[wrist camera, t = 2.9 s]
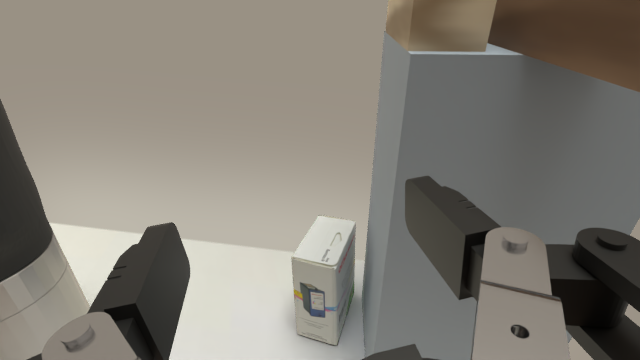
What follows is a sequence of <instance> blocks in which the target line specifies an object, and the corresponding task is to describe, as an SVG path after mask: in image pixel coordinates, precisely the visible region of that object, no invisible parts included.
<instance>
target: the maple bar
mask: <svg viewBox="0 0 640 360" xmlns="http://www.w3.org/2000/svg"><path fill="white" fill-rule="evenodd" d="M496 2H497V0H388V11H387V22H386V33H387V34H388V35H390V36H391V37H392V38H393V39H394V40H395V41H396V42H398V43H399V44H400V45H401V46H402V47H403V48H404V49H406V50H407V51H448V52H485V51H486V46H487V42H488V37H489V33H490V28H491V24H492V20H493V15H494V11H495V6H496Z"/></svg>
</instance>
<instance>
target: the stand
mask: <svg viewBox="0 0 640 360" xmlns="http://www.w3.org/2000/svg"><path fill="white" fill-rule="evenodd" d="M380 78H381V79H380V89H379V102H378V113H377V126H376V137H375V149H374V160H373V173H372V184H371V196H370V209H369V220H368V232H367V244H366V255H365V267H364V279H363V291H362V308H363V326H364V345H365V358H366V357H368V356H370V355H372V354H374V353H378V352H382V351H386V350H390V349H394V348H399V347H403V346H407V345H411V344H415V345H416V347H417V349H418V351H419V353H420V355H421V357H422V358H432V359H439V360H470V355H471V347H472V339H473V330H474V322H475V314H476V306H477V301H476V300H475V298H474V297H470V298H466V299H462V300H458V298H457V297H456V296H455V294H454V293H453V291H452V290H451V289H450V287H449V286H448V285H447V283H446V282H445V281H444V279H443V278H442V277H441V275H440V274H439V272H438V271H437V270H436V268H435V267H434V266H433V264H432V263H431V262H430V260H429V259H428V258H427V256H426V255H425V253H424V252H423V251H422V249H421V248H420V247H419V245H418V244H417V243H416V241H415V240H414V239H413V237H412V236H411V234H410V233H409V231H408V229H407V226H406V221H405V183H406V180H407V179H411V178H416V177H422V176H430V177H431V178H432V179H433V180H435V181H436V182H437V183H438V184H439V185H440V186H441V187H443V186H446V187H449V188H451V189H454V190H456V191H459V192H460V193H461V194H462V195H464V196H465V197H466V198H467V199H468V201H471V202H472V203H473V204H474V205H476V208H477V207H478V208H479V209H481V210H482V211H483V212H484V213H485V214H487V215H488V216H489V217H490V218H491V219H493V220H494V221H495V222H496V223H497V224H499V225H500V226H501V227H512V228H518V229H522V230H526V231H528V232H531V233H533V234H534V235H536V236H538V237H539V238H540V239H541V240H542V241H543V242H544V244H568V245H574V244H575V240H576V237H577V234H578V232H579V231H581V230H583V229H587V228H606V229H611V230H616V231H619V232H622V233H625V234H627V235H630V234H631V232H632V230H633V228H634V227H635V225H636V223H637V221H638V220H639V218H640V92H637V91H634V90H631V89H628V88H625V87H622V86H618V85H615V84H612V83H609V82H606V81H603V80H600V79H597V78H594V77H591V76H588V75H584V74H581V73H578V72H575V71H572V70H569V69H566V68H563V67H560V66H557V65H554V64H550V63H547V62H544V61H541V60H538V59H535V58H532V57H529V56H526V55H523V54H520V53H516V52H513V51H510V50H507V49H504V48H501V47H498V46H495V45H492V44H489V43H487V46H486V51H485V52H448V51H407V50H406V49H404V48H403V47H402V46H401V45H400V44H399V43H398V42H396V41H395V40H394V39H393V38H392V37H391V36H390V35H388V34H387V33H386V31H384V43H383V54H382V66H381V77H380ZM566 334H567V340H568V343H569V342H570V340H571V338H572V336H571V335H570V334H569V333H568V332H567V331H566Z"/></svg>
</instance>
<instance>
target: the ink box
mask: <svg viewBox="0 0 640 360" xmlns="http://www.w3.org/2000/svg"><path fill="white" fill-rule="evenodd" d="M355 229H356V222H355V221H352V220H347V219H341V218H336V217H330V216H324V215H318V217H317V219H316V220H315V222H314V223H313V225H312V227H311V228H310V229H309V231H308V232H307V234H306V236H305V237H304V239H303V240H302V242H301V243H300V245H299V246H298V248H297V250H296V251H295V253H294V254H293V256H292V257H291V259H292V273H293V286H294V300H295V313H296V324H297V334H300V335H302V336H305V337H309V338H312V339H315V340H319V341H322V342H325V343H328V344H332V345H337V344H338V340H339V337H340V334H341V331H342V327H343V324H344V321H345V318H346V315H347V311H348V308H349V305H350V302H351V299H352V296H353V293H354V266H355Z"/></svg>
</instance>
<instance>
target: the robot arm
mask: <svg viewBox="0 0 640 360" xmlns="http://www.w3.org/2000/svg"><path fill="white" fill-rule="evenodd" d="M405 221H406V226H407V229H408V231H409V233H410V234H411V236H412V237H413V239H414V240H415V241H416V243H417V244H418V245H419V247H420V248H421V249H422V251H423V252H424V253H425V255H426V256H427V258H428V259H429V260H430V262H431V263H432V264H433V266H434V267H435V268H436V270H437V271H438V272H439V274H440V275H441V277H442V278H443V279H444V281H445V282H446V283H447V285H448V286H449V287H450V289H451V290H452V291H453V293H454V294H455V296H456V297H457V298H458V300H462V299H466V298H470V297H474V298H475V300H476V301H477V306H476V314H475V322H474V330H473V339H472V347H471V355H470V360H570V353H569V347H568V340H567V334H566V331H567V332H568V333H569V334H570V335H571V336H572V337H573V338H574V339H575V340H576V341H577V342H578V343H579V344H580V346H582V348H583V349H584V350H585V351H586V352H587V353H588V354H589V355H590V356H591V357H592V358H593V359H594V360H640V327H639V326H637V325H636V324H635V323H634V322H633V321H632V320H630V319H629V318H628V317H627V316H626V315H625V311H626V309H627V306H628V304H630V305H631V306H633V307H634V308H635V309H636V310H638V311H639V312H640V241H639V240H637V239H636V238H634V237H632V236H630V235H627V234H625V233H622V232H619V231H616V230H611V229H606V228H587V229H583V230H581V231H579V232H578V234H577V237H576V240H575V244H574V245H568V244H544V242H543V241H542V240H541V239H540V238H539V237H538V236H536V235H534V234H533V233H531V232H528V231H526V230H522V229H518V228H512V227H501V226H500V225H499V224H497V223H496V222H495V221H494V220H493V219H491V218H490V217H489V216H488V215H487V214H485V213H484V212H483V211H482V210H481V209H479V208H478V207H477V208H476V205H474V204H473V203H472V202H471V201H468V199H467V198H466V197H465V196H464V195H462V194H461V193H460V192H459V191H456V190H454V189H451V188H449V187H446V186H443V187H441V186H440V185H439V184H438V183H437V182H436V181H435V180H433V179H432V178H431V177H430V176H422V177H416V178H411V179H407V180H406V183H405ZM189 278H190V265H189V260H188V257H187V255H186V252H185V249H184V246H183V244H182V241H181V238H180V236H179V233H178V230H177V228H176V226H175V224H174V223H172V222H171V223H166V224H160V225H155V226H150V227H147V229H146V230H145V232H144V234H143V236H142V238H141V240H140V242H139V243H138V244H135V245H132V246H131V247H130V248H129V249H128V250H127V251H125V252H124V253H123V254H122V255H121V256H120V257H119V259H118V261H117V262H116V264H115V266H114V268H113V271H111V273H110V275H109V276H108V278H107V279H108V280H107V281H105V283H104V285H103V287H102V288H101V290H100V292H99V293H98V295H97V297H96V299H95V300H94V302H93V304H92V305H91V307H90V306H89V304H88V302H87V300H86V298H85V296H84V294H83V292H82V290H81V288H80V286H79V284H78V281H77V279H76V277H75V275H74V273H73V271H72V269H71V267H70V265H69V263H68V261H67V259H66V257H65V255H64V253H63V251H62V249H61V247H60V245H59V243H58V241H57V239H56V237H55V235H54V233H53V231H52V228H51V226H50V224H49V222H48V220H47V218H46V215H45V212H44V209H43V206H42V202H41V199H40V196H39V193H38V190H37V187H36V185H35V182H34V180H33V178H32V176H31V173H30V171H29V169H28V167H27V165H26V162H25V160H24V157H23V155H22V152H21V150H20V148H19V145H18V143H17V140H16V137H15V135H14V132H13V130H12V127H11V124H10V122H9V119H8V117H7V114H6V111H5V109H4V107H3V104H2V102H1V100H0V360H169V356H170V352H171V348H172V344H173V341H174V337H175V333H176V329H177V325H178V321H179V317H180V313H181V310H182V306H183V302H184V298H185V294H186V290H187V286H188V282H189ZM362 360H439V359H432V358H422V357H421V355H420V353H419V351H418V349H417V347H416V345H415V344H411V345H407V346H403V347H399V348H394V349H390V350H386V351H382V352H378V353H374V354H372V355H370V356H368V357H366V358H364V359H362Z"/></svg>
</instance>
